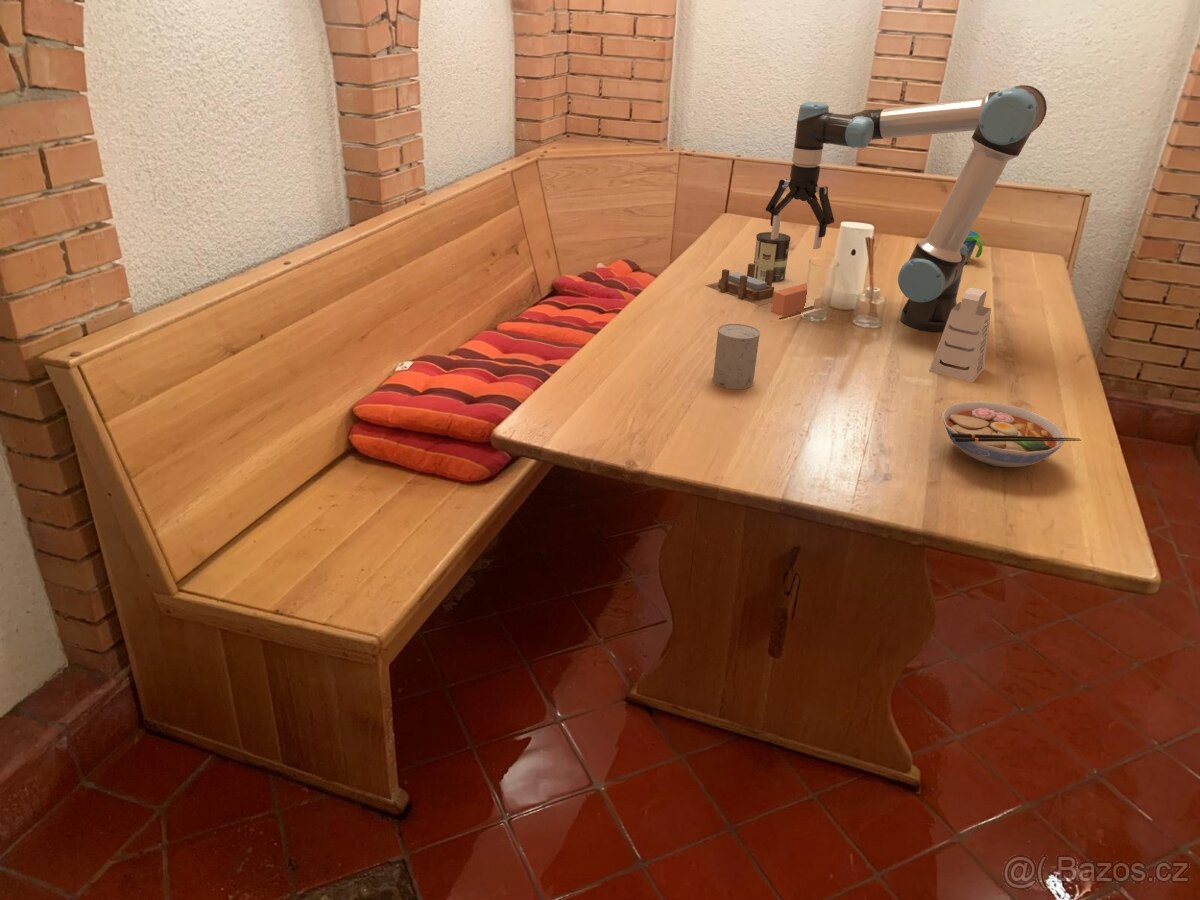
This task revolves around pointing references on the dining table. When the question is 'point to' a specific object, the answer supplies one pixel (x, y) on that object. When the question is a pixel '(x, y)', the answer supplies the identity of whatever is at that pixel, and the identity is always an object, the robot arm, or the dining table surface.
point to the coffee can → (771, 256)
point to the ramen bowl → (1002, 433)
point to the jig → (742, 290)
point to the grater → (964, 338)
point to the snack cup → (973, 244)
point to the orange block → (789, 300)
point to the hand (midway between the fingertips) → (795, 243)
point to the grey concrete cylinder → (736, 356)
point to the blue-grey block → (748, 281)
